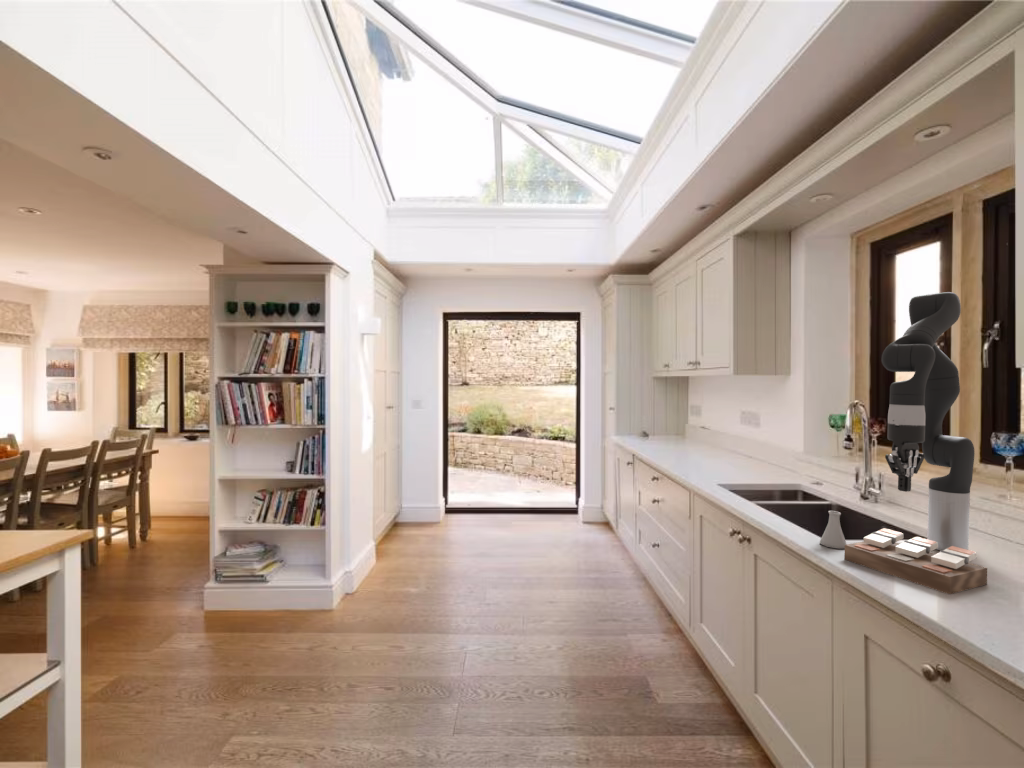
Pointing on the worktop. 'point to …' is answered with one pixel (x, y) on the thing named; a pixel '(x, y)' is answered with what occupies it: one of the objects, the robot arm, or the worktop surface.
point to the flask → (833, 532)
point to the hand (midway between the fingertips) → (904, 490)
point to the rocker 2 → (916, 547)
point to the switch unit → (917, 568)
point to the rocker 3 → (954, 557)
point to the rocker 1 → (883, 537)
